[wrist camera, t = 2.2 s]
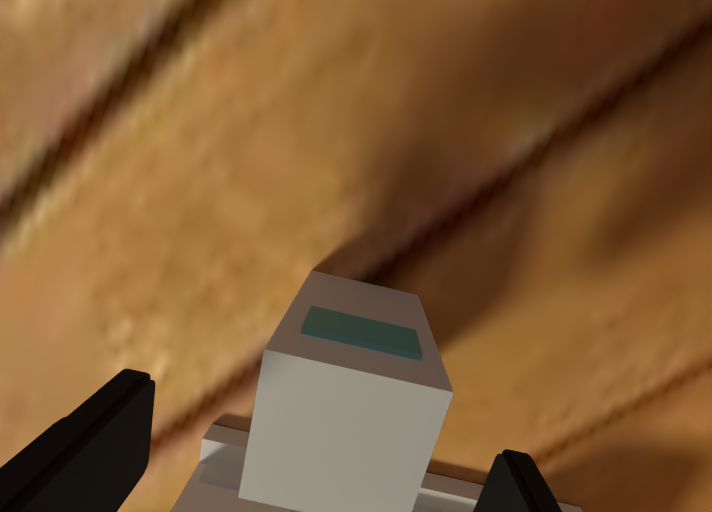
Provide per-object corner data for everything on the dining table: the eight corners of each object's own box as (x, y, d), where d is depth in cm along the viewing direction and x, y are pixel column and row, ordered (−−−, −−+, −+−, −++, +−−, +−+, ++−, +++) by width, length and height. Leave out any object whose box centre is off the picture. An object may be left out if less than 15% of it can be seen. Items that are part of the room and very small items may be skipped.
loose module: (419, 290, 15) (455, 386, 9) (390, 386, 17) (403, 534, 10) (312, 265, 15) (265, 342, 9) (292, 364, 17) (238, 497, 10)
